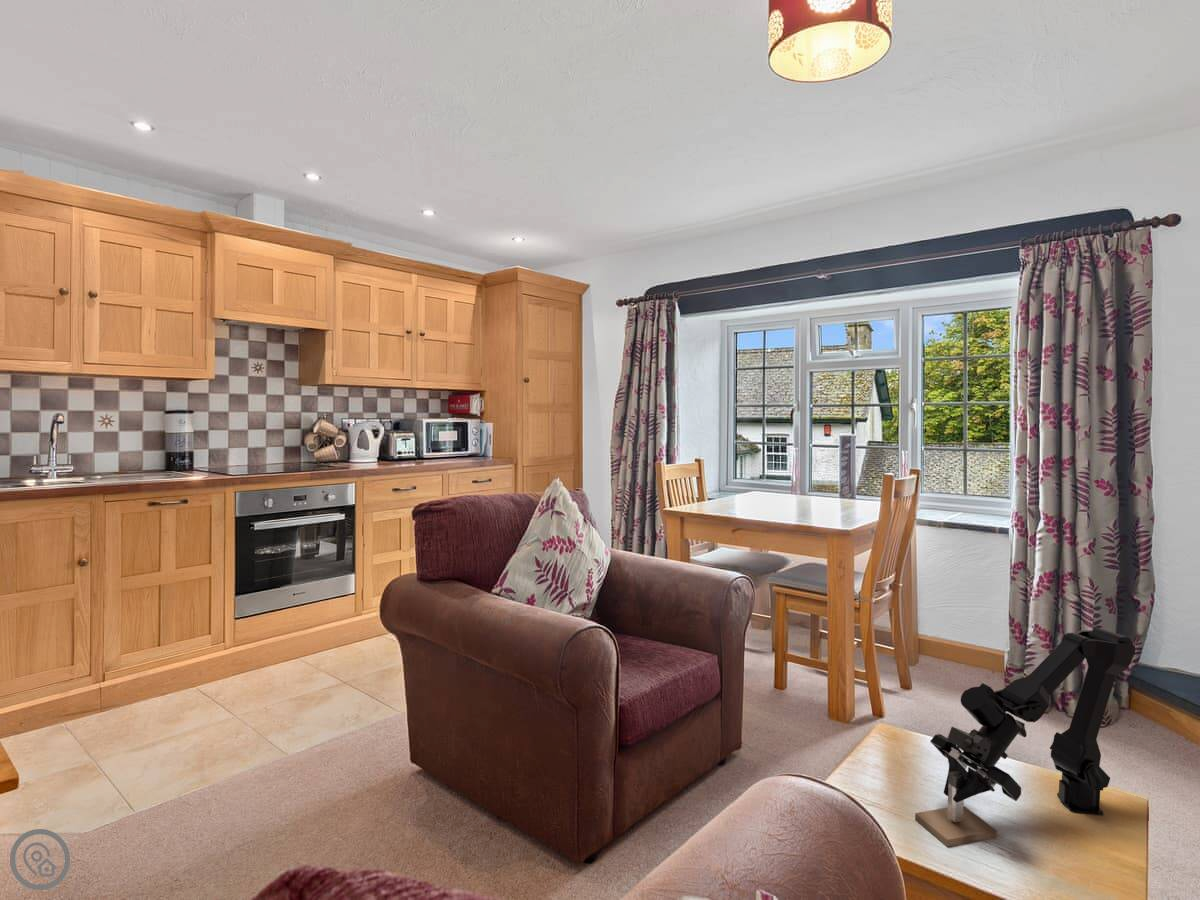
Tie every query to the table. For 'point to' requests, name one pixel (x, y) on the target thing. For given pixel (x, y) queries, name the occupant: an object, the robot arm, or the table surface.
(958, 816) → the arm
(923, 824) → the stand
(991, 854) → the table surface
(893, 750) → the table surface
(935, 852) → the table surface
